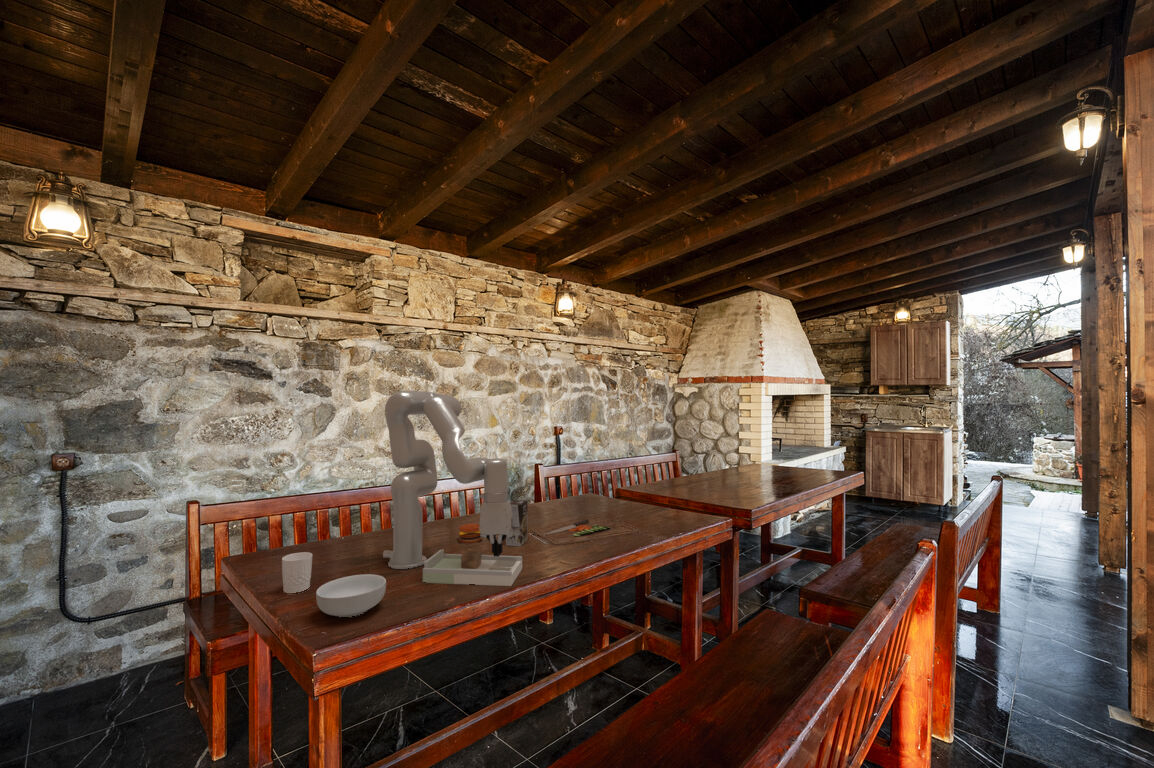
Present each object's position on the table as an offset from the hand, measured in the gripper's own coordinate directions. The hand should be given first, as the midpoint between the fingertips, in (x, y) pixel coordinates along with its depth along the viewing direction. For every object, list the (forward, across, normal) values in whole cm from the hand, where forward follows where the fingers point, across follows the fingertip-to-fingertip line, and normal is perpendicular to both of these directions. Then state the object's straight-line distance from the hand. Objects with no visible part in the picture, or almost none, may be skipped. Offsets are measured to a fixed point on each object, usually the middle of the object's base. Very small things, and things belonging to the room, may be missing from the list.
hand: (497, 555), depth 152 cm
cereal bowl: (+6, -32, -29) cm, 43 cm away
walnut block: (+4, -9, 0) cm, 9 cm away
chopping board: (+8, +22, +56) cm, 61 cm away
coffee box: (+7, -3, +37) cm, 38 cm away
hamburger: (+6, -23, +39) cm, 46 cm away
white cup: (+6, -57, -17) cm, 59 cm away
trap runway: (+7, -8, 0) cm, 10 cm away
